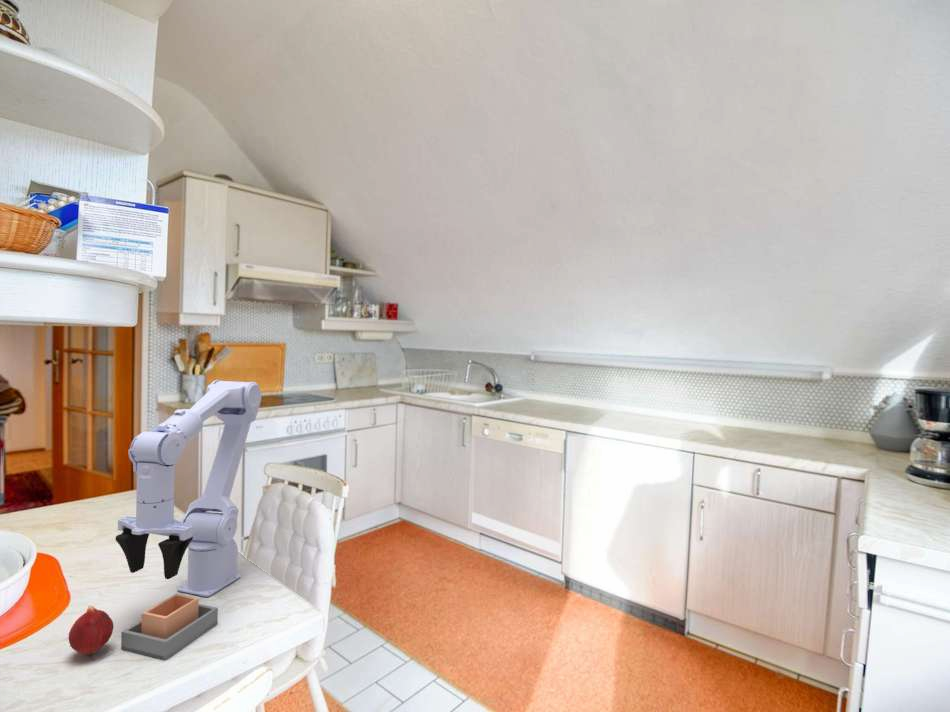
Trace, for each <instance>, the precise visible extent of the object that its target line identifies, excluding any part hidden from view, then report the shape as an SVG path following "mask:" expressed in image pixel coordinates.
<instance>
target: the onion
mask: <svg viewBox="0 0 950 712" xmlns="http://www.w3.org/2000/svg"><path fill="white" fill-rule="evenodd" d="M114 627H115V626H114V621H113V619H112V618H111V617H110V615H109V614H108V613H107V612H106V611H104V610H101V609H97V608H95V607H94V606H93V605H89V606H88V607H87V609H86V612H85V613H83V614H82V615H80V616H79V617H78V618H77V619H76V620H75V622H74V623H73V624H72V626H71V628H70V630H69V633H68V637H67V639H68V642H69V647H70V648H72V649H73V650H74V651H76V652H77V653H79V654H83V655H85V656H90V655H93V654H94V653H96V652H97V651H99V650H100V649H101V648H102V647H104V646H105V645H106V644H107V643H108V642H109V641H110V639H111V638H112V637H111V636H112V634H113V631H114Z"/></svg>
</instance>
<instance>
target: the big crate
mask: <svg viewBox="0 0 950 712" xmlns="http://www.w3.org/2000/svg"><path fill="white" fill-rule="evenodd" d="M218 612H219V608H218V607H215V606H210V605H205V604H201V603H199V609H198V619H197V620H195V621H194V622H192V623H190V624H189V625H187V626H186V627H184V628H183V629H181V630H180V631H178V632H177V633H175V634H174V635H172V636H171V637H169V638H167V639H162V638H158V637H153V636H149V635H145V634H141V627H142V619H141V620H139V621H138V622H136V623H134V624H133V625H132V624H131V626H129V627H127V628H125V629H124V630H121V638H120V639H121V640H120V641H121V642H120V644H121V645H120V649H121V650H122V651H126V652H131V653H134V654H139V655H141V656H142V655H143V656H146V657H150V658H155V659H158V660H163V661H167V660H168V659H170V658H171V657H173V656H174V655H175V654H177V653H178V652H179V651H181V650H182V649H184V648H185V647H187V646H188V645H189V644H191V643H192V642H194V641H196V640H197V639H198V638H200V637H201V636H203V635H205V633H207V632H208V631H210V630H211V629H213V627H214V628H215V626H216V625H218V621H219V619H218V616H219V615H218V614H219V613H218Z"/></svg>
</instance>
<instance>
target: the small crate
mask: <svg viewBox="0 0 950 712" xmlns="http://www.w3.org/2000/svg"><path fill="white" fill-rule="evenodd" d="M199 600H200V598H199V597H194V596H190V595H184V594H179V593H175V594H173V595H172V596H170V597H168V598H166V599H165V600H162V601H160V602H159V603H158V604H156V605H154V606H152V607H150V608H149V609H147V610H145V611H143V612H141V620H142V627H141V634H145V635H149V636H153V637H158V638H162V639H167V638H169V637H171V636H172V635H174V634H175V633H177V632H178V631H180V630H181V629H183V628H184V627H186V626H187V625H189V624H190V623H192V622H194V621H195V620H197V619H198V609H199V604H200V603H199V602H200V601H199Z"/></svg>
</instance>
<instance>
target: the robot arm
mask: <svg viewBox="0 0 950 712" xmlns="http://www.w3.org/2000/svg"><path fill="white" fill-rule="evenodd" d="M261 402H262V393H261V388H260V386H259V384H258V383H257V382H256V381H249V382H248V381H232V380H231V381H229V380H221V379H216V380H215V379H214V380H213V381H212V382H211V383H210V384H208V385H207V387H206V390H205V394H204V395H203V396H202V397H201V398H200V399H199V400H198V401H197V402H195V404H193V405H192V407H190V408H189V409H188V408H183V409H179V408H178V409H176V410H175V411H174V412H173V414H172V415H171V416H170V417H168V418H167V419H166V420H164V421H163V422H161V423H159V424H158V425H157V427H155V428H154V429H152V431H143V432H140V434H138V435H136V436H135V437H134V438H133V440H132V441H131V443H130V447H129V449H128V458H129V461H131V463H132V465H133V466H132V468H133V469H132V471H133V472H134V474H135V475H136V490H135V491H136V494H135V495H136V497H135V498H136V499H135V502H136V503H135V504H136V505H135V516H127V515H126V516H125V517H122V518H120V519H117V531H121V533H120V534H117V535H116V536H115V542H116V543H118V545H119V547H120V548H121V549H122V552H123V554H124V557H125V560H126V562H127V565H128V568H129V572H130V573H131V574H134V573H137V572H138V571H140V570H142V569H144V566H145V560H146V548H147V545H148V540H149V536H150V534H151V535H156V536H157V535H158V536H164V537H165V536H166V537H168V538H167V539H165V540H162V541H160V542H158V547H159V549H160V551H161V555H162V559H163V575H164V579H165V580H170V579H172V578H174V577H175V576H178V574H179V570H180V566H181V564H182V560H183V558H184V555H185V553H186V551H188V552H187V582H185V583H184V584H183V585H181V586H178V587H177V588H176V590H177V592H182V593H187V594H192V595H196V596H201V597H206V598H207V597H210V596H212V595H214V594H215V593H217V592H218V591H221V590H222V589H223V588H225V587H227V586H228V585H230V584H232V583H233V582H235V581H236V580H238V579H240V578H241V574H239V573H238V558H239V557H238V556H239V554H238V553H239V549H238V545H237V541H236V540H235V539H234V536H235V535H236V532H237V529H238V516H239V508H238V507H237V505H236V504H235V503H234V502H233V501H232V500H231V499H230V497H231V493H232V490H233V487H234V483H235V480H236V476H237V473H238V469H239V465H240V462H241V459H242V456H243V452H244V448H245V445H246V443H247V442H246V441H247V438H248V434H249V430H250V428H251V424H252V423H253V422H255V421H256V419H257V415H258V412H259V408H260V406H261ZM214 415H215V417H216V418H217V419H218V420H220V421H221V422H223V425H224V428H223V430H222V433H221V437H220V440H219V443H218V446H217V449H216V453H215V456H214V460H213V462H212V466H211V469H210V472H209V476H208V478H207V482H206V486H205V488H204V490H203V491H204V492H203V494H202V495H201V496H199V497H198V498H197V499H195V500H193V501H192V502H191V503H189V504H188V508H187V510H186V512H185V514H184V515H183V517H182V518H181V520H180V521H179V520H177V519H175V518H174V517H175V516H174V515H175V513H174V511H175V465H176V463H178V462H179V461H180V460H181V457H182V455H183V452H184V450H185V449H186V447H187V444H188V443H189V442H190V441H191V440H193V439H194V438H195V437H196V436H197V435H198V434H200V432H201V431H202V430H203V426H204V424H203V423H204V422H205V421H206V420H208V419H210V417H212V416H214Z"/></svg>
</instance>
